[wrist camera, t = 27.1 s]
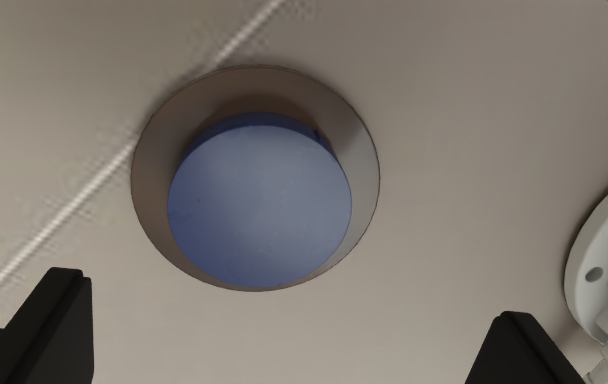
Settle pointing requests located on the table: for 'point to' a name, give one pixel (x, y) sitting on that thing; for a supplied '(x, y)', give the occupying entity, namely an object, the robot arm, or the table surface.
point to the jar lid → (259, 200)
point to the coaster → (240, 100)
